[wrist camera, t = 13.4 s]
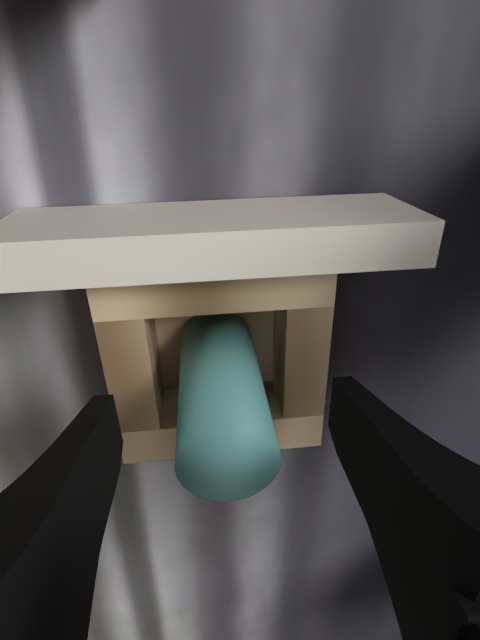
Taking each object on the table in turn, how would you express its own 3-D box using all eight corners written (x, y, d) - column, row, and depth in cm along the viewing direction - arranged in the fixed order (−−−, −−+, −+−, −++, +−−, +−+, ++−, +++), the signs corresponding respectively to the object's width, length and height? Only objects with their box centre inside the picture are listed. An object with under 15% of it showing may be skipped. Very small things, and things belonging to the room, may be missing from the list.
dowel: (250, 306, 17) (282, 419, 11) (251, 365, 18) (280, 495, 12) (178, 311, 17) (169, 429, 11) (184, 370, 18) (179, 506, 12)
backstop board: (383, 192, 16) (445, 220, 12) (378, 229, 17) (435, 267, 13) (19, 208, 15) (-43, 245, 11) (29, 247, 16) (-25, 294, 12)
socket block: (312, 233, 17) (338, 260, 14) (302, 396, 21) (320, 445, 18) (103, 243, 16) (82, 275, 13) (133, 410, 20) (123, 464, 17)
